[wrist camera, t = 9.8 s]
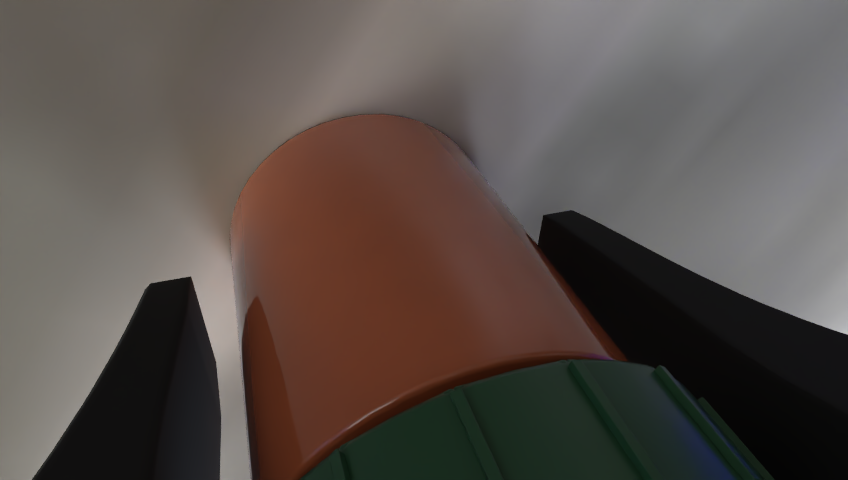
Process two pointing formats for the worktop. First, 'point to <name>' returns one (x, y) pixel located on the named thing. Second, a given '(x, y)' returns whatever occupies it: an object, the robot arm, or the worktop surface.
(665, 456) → the jar lid
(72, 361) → the worktop surface
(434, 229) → the jar
